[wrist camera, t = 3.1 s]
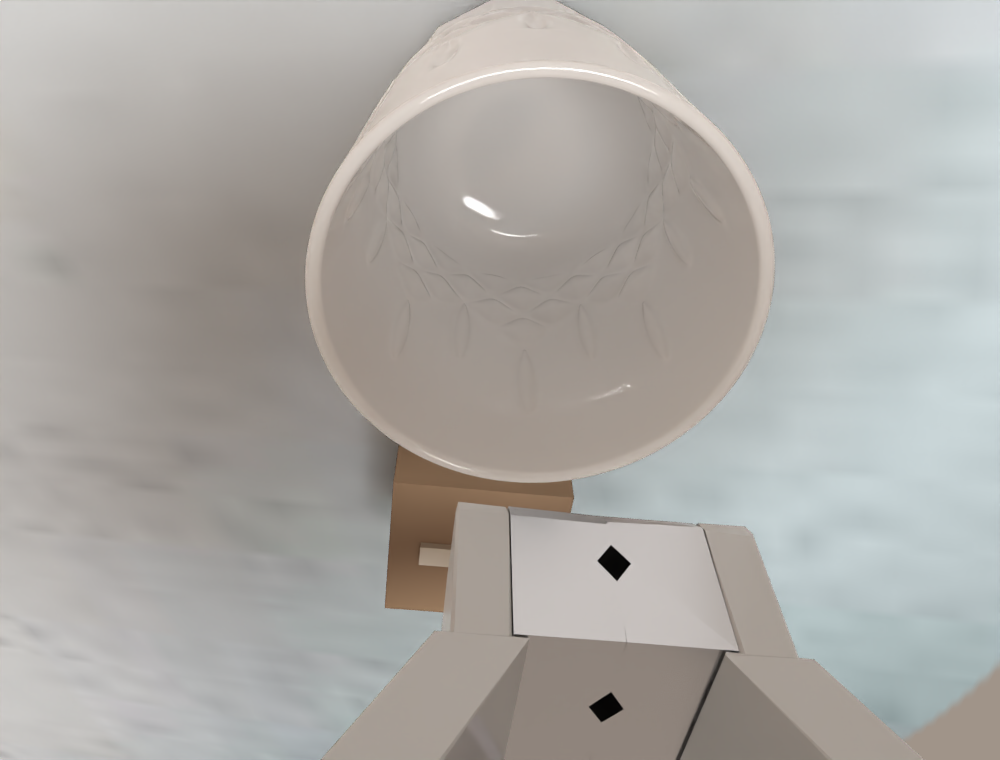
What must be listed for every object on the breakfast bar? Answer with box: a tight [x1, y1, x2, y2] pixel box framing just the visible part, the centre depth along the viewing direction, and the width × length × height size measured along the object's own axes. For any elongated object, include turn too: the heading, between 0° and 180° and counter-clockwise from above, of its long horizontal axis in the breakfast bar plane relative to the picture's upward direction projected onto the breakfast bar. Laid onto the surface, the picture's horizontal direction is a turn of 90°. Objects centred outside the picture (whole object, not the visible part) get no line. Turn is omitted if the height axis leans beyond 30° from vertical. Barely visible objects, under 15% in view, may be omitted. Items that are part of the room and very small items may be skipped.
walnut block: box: [385, 445, 574, 612], centre depth 26 cm, size 5×5×5 cm
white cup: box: [305, 0, 775, 483], centre depth 18 cm, size 8×8×10 cm
